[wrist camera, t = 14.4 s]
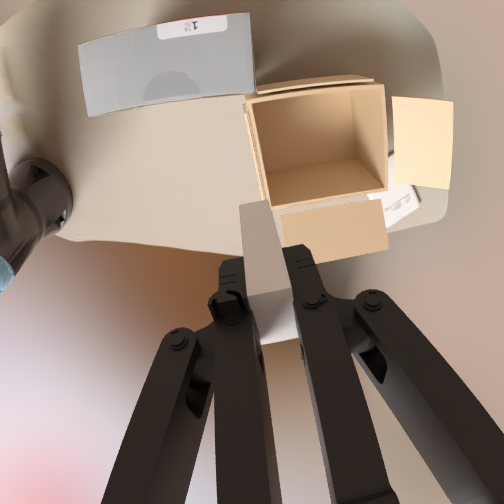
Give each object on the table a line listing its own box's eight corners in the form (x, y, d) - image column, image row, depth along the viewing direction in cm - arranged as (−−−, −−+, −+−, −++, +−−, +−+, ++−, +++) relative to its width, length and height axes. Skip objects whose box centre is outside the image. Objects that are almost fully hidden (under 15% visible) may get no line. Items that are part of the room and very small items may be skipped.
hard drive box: (247, 31, 36) (255, 11, 20) (250, 80, 40) (259, 97, 24) (138, 45, 36) (75, 44, 19) (144, 93, 40) (86, 122, 24)
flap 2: (449, 189, 33) (448, 188, 33) (453, 101, 27) (452, 101, 27) (394, 182, 37) (394, 182, 37) (391, 96, 30) (391, 96, 30)
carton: (257, 176, 49) (264, 212, 39) (238, 85, 41) (239, 95, 30) (357, 159, 48) (388, 191, 38) (349, 70, 39) (384, 78, 29)
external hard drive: (392, 149, 47) (417, 201, 53) (354, 174, 50) (383, 224, 56) (396, 152, 46) (421, 205, 52) (357, 178, 49) (386, 229, 55)
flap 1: (280, 215, 39) (280, 215, 39) (290, 268, 39) (290, 268, 39) (380, 198, 38) (379, 198, 38) (389, 249, 38) (388, 248, 38)
